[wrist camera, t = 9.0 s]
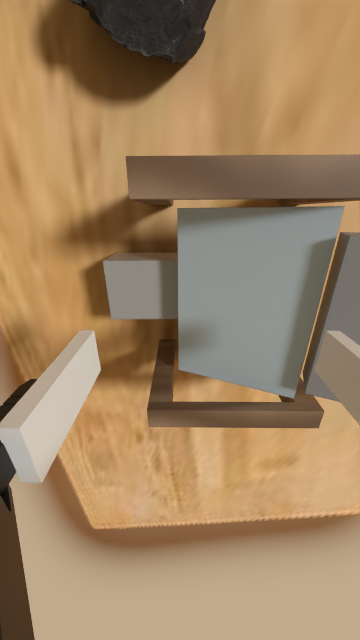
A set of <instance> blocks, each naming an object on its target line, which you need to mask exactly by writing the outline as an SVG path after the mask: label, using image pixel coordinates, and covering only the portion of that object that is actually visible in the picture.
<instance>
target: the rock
mask: <svg viewBox="0 0 360 640" xmlns="http://www.w3.org/2000/svg"><path fill="white" fill-rule="evenodd" d="M69 1H70V2H72V3H74V4H78V5H79V6H81V7H83V8H85V9H87V10H88V11H89V13H90V17H91V18H92V19H93V20H94V21H95V22H96V23H97V24H98V25H99V26H100V27H102V28H104V29H105V30H106V31H107V32H108V33H109V34H110V36H111V37H112V39H113V40H114V41H115V42H116V43H118V44H119V45H121V46H123V47H125V48H127V49H128V50H131V51H135V52H137V53H139V54H141V55H143V56H147V57H148V56H155V57H158V58H160V59H165V60H167V61H169V62H171V63H180V62H183V61H184V62H185V61H187V60H188V59H190V58H192V57H193V56H194V54H196V52H197V51H198V49H199V48H200V46H201V44H202V42H203V40H204V37H205V33H206V32H205V31H204V30H203V28H204V26H205V23H206V21H207V19H208V17H209V14H210V11H211V9H212V7H213V5H214V3H215V1H216V0H69Z"/></svg>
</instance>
